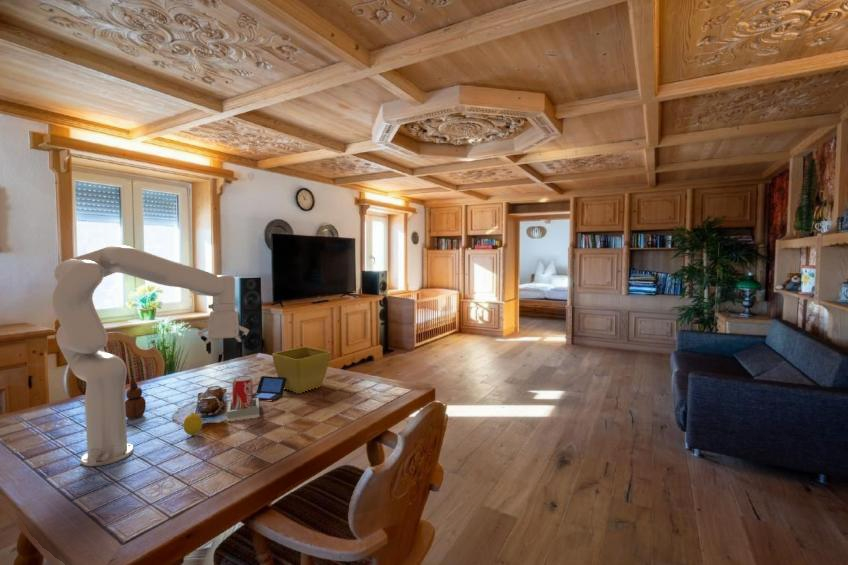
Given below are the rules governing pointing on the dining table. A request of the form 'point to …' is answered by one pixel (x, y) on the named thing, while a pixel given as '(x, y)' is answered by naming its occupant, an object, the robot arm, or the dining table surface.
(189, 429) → the lemon
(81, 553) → the dining table surface
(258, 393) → the handheld game console
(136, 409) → the wooden figurine
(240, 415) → the holder
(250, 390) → the soda can
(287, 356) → the flower pot
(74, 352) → the robot arm
